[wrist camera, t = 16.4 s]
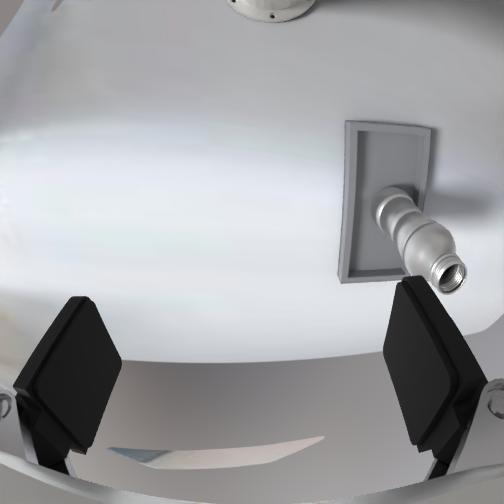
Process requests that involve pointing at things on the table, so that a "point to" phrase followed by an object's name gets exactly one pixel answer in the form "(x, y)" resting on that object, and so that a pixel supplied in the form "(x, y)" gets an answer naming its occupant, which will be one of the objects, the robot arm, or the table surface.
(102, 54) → the table surface
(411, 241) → the plastic bottle
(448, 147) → the table surface
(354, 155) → the grey rectangular tray
